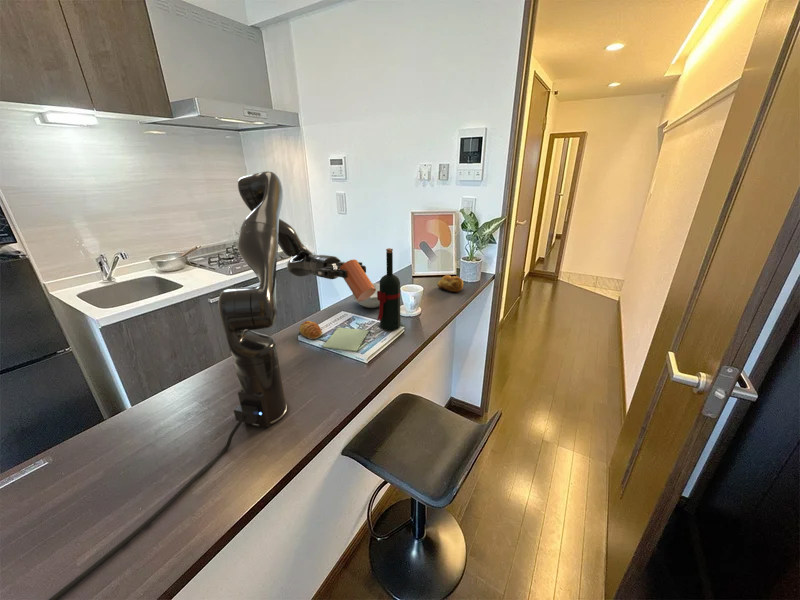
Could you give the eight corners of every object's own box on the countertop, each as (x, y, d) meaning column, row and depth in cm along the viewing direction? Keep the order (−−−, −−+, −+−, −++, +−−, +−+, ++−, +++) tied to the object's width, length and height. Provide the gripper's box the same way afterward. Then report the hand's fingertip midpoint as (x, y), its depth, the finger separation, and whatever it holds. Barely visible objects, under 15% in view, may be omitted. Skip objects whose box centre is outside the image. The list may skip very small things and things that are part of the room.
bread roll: (434, 289, 159) (434, 274, 156) (442, 283, 167) (443, 269, 163) (458, 295, 153) (459, 279, 149) (466, 288, 160) (467, 273, 157)
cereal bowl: (377, 315, 132) (377, 299, 129) (345, 307, 140) (344, 292, 137) (398, 301, 146) (398, 286, 143) (368, 294, 153) (367, 280, 150)
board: (356, 351, 107) (356, 350, 107) (322, 347, 110) (322, 346, 110) (369, 331, 120) (369, 330, 120) (338, 328, 122) (338, 327, 122)
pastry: (327, 335, 117) (326, 326, 115) (310, 342, 113) (309, 332, 111) (313, 326, 123) (312, 317, 122) (297, 333, 119) (295, 323, 117)
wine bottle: (371, 328, 122) (368, 250, 110) (389, 319, 129) (388, 245, 117) (386, 335, 117) (385, 254, 105) (404, 325, 124) (405, 248, 113)
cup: (368, 287, 92) (349, 258, 95) (353, 301, 94) (335, 271, 97) (379, 288, 97) (360, 261, 100) (364, 301, 99) (347, 274, 102)
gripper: (304, 259, 102) (333, 263, 91) (342, 251, 112) (373, 255, 100) (307, 282, 104) (337, 289, 93) (344, 273, 114) (375, 279, 102)
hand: (355, 271), depth 97 cm, fingers closed on cup, 6 cm apart
